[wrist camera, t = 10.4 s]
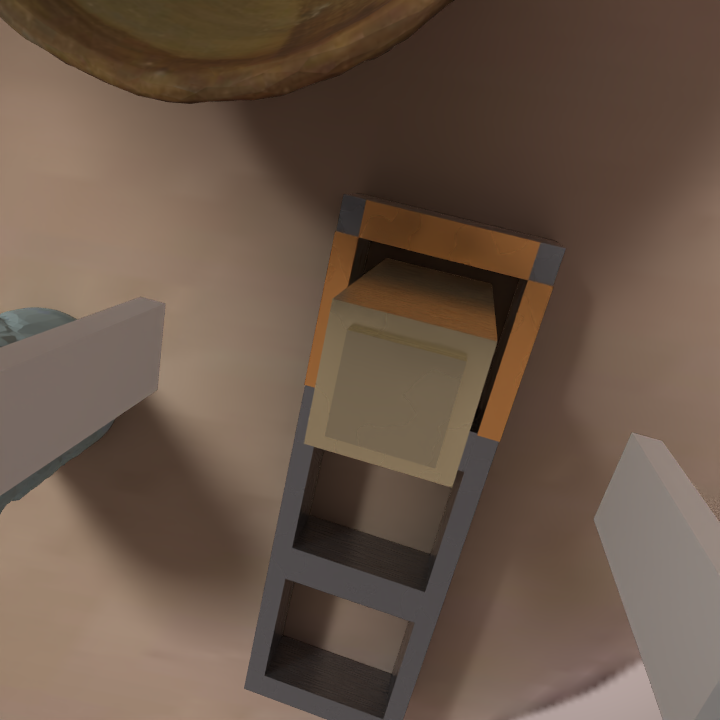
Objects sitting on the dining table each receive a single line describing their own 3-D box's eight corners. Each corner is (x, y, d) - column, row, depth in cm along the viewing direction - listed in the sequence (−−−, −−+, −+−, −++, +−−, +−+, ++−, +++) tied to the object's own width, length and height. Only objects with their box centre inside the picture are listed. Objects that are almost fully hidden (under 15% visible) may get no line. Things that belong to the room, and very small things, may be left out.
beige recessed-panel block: (386, 257, 26) (328, 301, 16) (492, 283, 25) (497, 345, 16) (364, 356, 28) (300, 449, 18) (462, 382, 27) (451, 494, 17)
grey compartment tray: (359, 193, 25) (342, 194, 22) (556, 241, 24) (566, 248, 21) (263, 648, 35) (242, 691, 32) (401, 697, 34) (393, 747, 31)
